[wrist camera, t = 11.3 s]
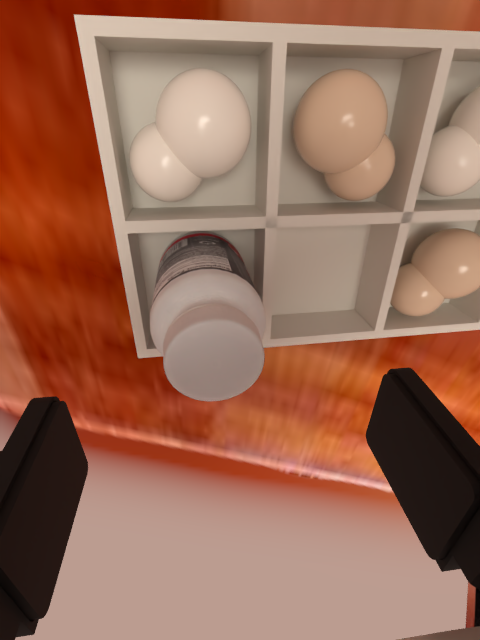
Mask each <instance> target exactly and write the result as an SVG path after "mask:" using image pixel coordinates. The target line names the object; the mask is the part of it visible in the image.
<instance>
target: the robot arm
mask: <svg viewBox="0 0 480 640" xmlns="http://www.w3.org/2000/svg"><path fill="white" fill-rule="evenodd" d="M366 439H367V443H368V445H369V447H370V449H371V451H372V452H373V454H374V456H375V458H376V460H377V462H378V464H379V466H380V467H381V469H382V471H383V473H384V475H385V477H386V479H387V480H388V482H389V484H390V486H391V488H392V490H393V492H394V493H395V495H396V497H397V499H398V501H399V503H400V505H401V507H402V508H403V510H404V512H405V514H406V516H407V518H408V519H409V521H410V523H411V525H412V527H413V529H414V531H415V532H416V534H417V536H418V538H419V540H420V542H421V544H422V545H423V547H424V549H425V551H426V553H427V554H428V556H429V557H430V558H432V559H434V560H436V562H437V564H438V565H439V567H440V569H441V571H442V572H443V571H449V570H456V569H461V570H462V571H463V573H464V575H465V576H466V578H467V580H468V594H467V612H466V628H465V629H458V630H451V631H445V632H440V633H433V634H428V635H423V636H416V637H410V638H404V639H398V640H480V446H479V445H478V444H477V443H476V442H475V441H474V439H473V438H472V437H471V436H470V435H469V434H468V432H467V431H466V430H465V429H464V428H463V427H462V426H461V424H460V423H459V422H458V421H457V420H456V419H455V418H454V416H453V415H452V414H451V413H450V412H449V411H448V409H447V408H446V407H445V406H444V405H443V404H442V403H441V401H440V400H439V399H438V398H437V397H436V396H435V394H434V393H433V392H432V391H431V390H430V389H429V388H428V386H427V385H426V384H425V383H424V382H423V381H422V379H421V378H420V377H419V376H418V375H417V374H416V373H415V371H414V370H412V369H411V368H398V369H390V370H389V371H388V373H387V374H385V375H384V376H383V378H382V381H381V385H380V388H379V391H378V395H377V398H376V401H375V405H374V408H373V411H372V415H371V418H370V422H369V425H368V428H367V432H366ZM87 472H88V462H87V459H86V456H85V453H84V451H83V448H82V445H81V443H80V440H79V437H78V435H77V432H76V429H75V426H74V424H73V421H72V418H71V416H70V413H69V410H68V407H67V405H66V403H65V402H64V401H60V400H59V399H58V398H57V397H43V398H33V399H32V400H31V401H30V402H29V404H28V406H27V407H26V409H25V411H24V413H23V415H22V416H21V418H20V420H19V422H18V424H17V425H16V427H15V429H14V431H13V433H12V435H11V436H10V438H9V440H8V442H7V443H6V445H5V447H4V449H3V451H0V640H15V637H20V636H27V635H33V634H34V633H35V630H36V626H37V623H38V620H39V619H41V618H43V617H44V616H45V615H46V613H47V611H48V609H49V606H50V602H51V599H52V595H53V592H54V588H55V584H56V581H57V578H58V574H59V571H60V567H61V564H62V560H63V557H64V553H65V550H66V546H67V542H68V539H69V536H70V532H71V529H72V525H73V522H74V518H75V515H76V511H77V508H78V504H79V501H80V497H81V494H82V490H83V486H84V483H85V480H86V476H87Z"/></svg>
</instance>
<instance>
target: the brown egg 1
mask: <svg viewBox="0 0 480 640" xmlns="http://www.w3.org/2000/svg"><path fill="white" fill-rule="evenodd" d="M387 120H388V108H387V102H386V98H385V95H384V93H383V91H382V89H381V87H380V86H379V84H378V83H377V82H376V81H375V80H374V79H373V78H372V77H371V76H369V75H368V74H366V73H364V72H362V71H359V70H355V69H339V70H335V71H332V72H329V73H327V74H325V75H323V76H322V77H320V78H319V79H317V80H316V81H315V82H314V83H313V84H312V85H311V86H310V87H309V88H308V89H307V90H306V92H305V93H304V94H303V96H302V98H301V99H300V101H299V104H298V106H297V108H296V112H295V115H294V120H293V137H294V142H295V146H296V148H297V151H298V153H299V154H300V156H301V158H302V159H303V160H304V161H305V162H306V163H307V164H308V165H309V166H310V167H312V168H313V169H315V170H317V171H319V172H322V173H323V174H324V179H325V182H326V184H327V186H328V187H329V189H330V190H331V191H332V192H333V193H334V194H335V195H336V196H338V197H340V198H342V199H345V200H349V201H360V200H364V199H367V198H370V197H372V196H373V195H375V194H376V193H378V192H379V191H380V190H381V189H383V187H384V186H385V185H386V184H387V182H388V181H389V179H390V177H391V175H392V173H393V170H394V166H395V151H394V147H393V144H392V142H391V140H390V139H389V138H388V136H387V135H386V134H385V131H386V126H387Z"/></svg>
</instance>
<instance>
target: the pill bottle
mask: <svg viewBox="0 0 480 640" xmlns="http://www.w3.org/2000/svg"><path fill="white" fill-rule="evenodd" d="M265 326H266V316H265V311H264V307H263V303H262V301H261V298H260V295H259V293H258V292H257V290H256V288H255V286H254V284H253V282H252V280H251V277H250V275H249V273H248V270H247V268H246V266H245V264H244V261H243V259H242V257H241V255H240V253H239V252H238V250H237V249H236V247H235V246H234V245H233V244H232V243H231V242H230V241H229V240H227V239H226V238H225V237H223V236H221V235H219V234H216V233H213V232H207V231H195V232H190V233H186V234H183V235H181V236H179V237H178V238H176V239H175V240H174V241H172V242H171V243H170V244H169V245H168V246H167V248H166V249H165V251H164V253H163V254H162V257H161V259H160V262H159V266H158V271H157V278H156V283H155V290H154V295H153V301H152V305H151V311H150V332H151V336H152V339H153V342H154V344H155V346H156V348H157V350H158V351H159V352H160V354H161V355H162V356H163V363H164V370H165V374H166V376H167V378H168V380H169V382H170V383H171V384H172V386H173V387H174V388H175V389H176V390H178V391H179V392H181V393H182V394H184V395H185V396H188V397H190V398H193V399H196V400H201V401H221V400H225V399H229V398H232V397H234V396H237V395H239V394H241V393H242V392H244V391H245V390H247V389H248V388H249V387H250V386H252V385H253V384H254V382H255V381H256V380H257V378H258V377H259V375H260V374H261V371H262V368H263V365H264V348H263V344H262V339H263V336H264V332H265Z"/></svg>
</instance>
